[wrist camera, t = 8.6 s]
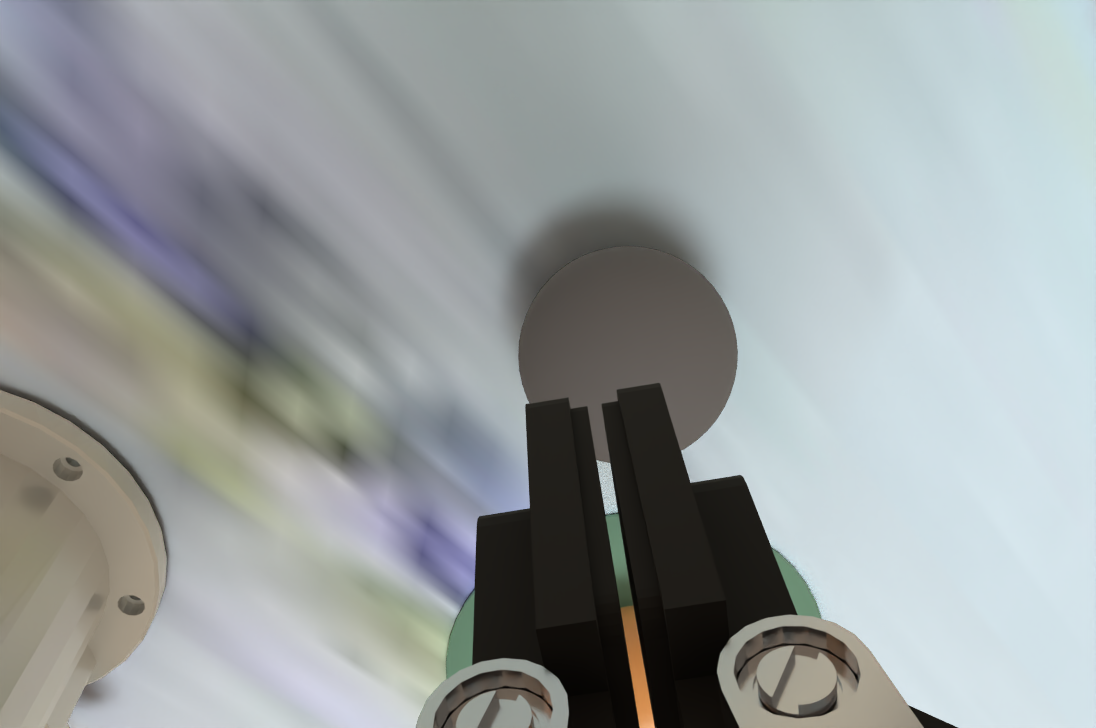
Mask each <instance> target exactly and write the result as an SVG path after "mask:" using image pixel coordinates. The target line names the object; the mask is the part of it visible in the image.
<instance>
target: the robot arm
mask: <svg viewBox="0 0 1096 728" xmlns="http://www.w3.org/2000/svg"><path fill="white" fill-rule="evenodd" d="M616 391H617V400H618V401H615V402H608V403H602V404H601V406H602V412H603V419H604V425H605V432H606V438H607V444H608V451H609V457H610V463H611V470H612V476H613V482H614V489H615V495H616V502H617V508H618V514H619V521H620V527H621V533H622V540H623V546H624V552H625V559H626V565H627V572H628V578H629V584H630V590H631V596H632V602H633V607H634V613H635V619H636V624H637V630H638V635H639V641H640V647H641V652H642V658H643V664H644V669H645V675H646V681H647V686H648V692H649V698H650V703H651V709H652V714H653V720H654V726H655V728H957V727H955V726H953V725H951V724H949V723H946V722H944V721H942V720H940V719H937V718H935V717H933V716H931V715H929V714H926V713H924V712H922V711H920V710H918V709H915V708H913V707H911V706H909V705H908V704H907V703H906V702H905V700H904V699H903V697H902V696H901V694H900V693H899V691H898V690H897V689H896V687H895V686H894V684H893V683H892V681H891V680H890V679H889V677H888V676H887V674H886V673H885V671H884V670H883V668H882V667H881V666H880V664H879V663H878V661H877V660H876V658H875V657H874V656H873V654H872V653H871V651H870V650H869V649H868V648H867V647H866V646H865V645H864V643H863V642H862V641H861V640H860V639H859V638H858V637H857V636H856V635H855V634H853V633H851V632H850V631H848V630H846V629H845V628H843V627H841V626H839V625H838V624H836V623H833V622H830V621H826V620H823V619H820V618H816V617H813V616H801V615H798V614H797V612H796V609H795V607H794V604H793V602H792V599H791V596H790V594H789V591H788V589H787V586H786V584H785V581H784V579H783V576H782V573H781V571H780V568H779V566H778V563H777V561H776V558H775V556H774V553H773V550H772V548H771V545H770V543H769V540H768V538H767V535H766V533H765V530H764V527H763V525H762V522H761V520H760V517H759V515H758V512H757V510H756V507H755V504H754V502H753V499H752V497H751V494H750V492H749V489H748V487H747V484H746V482H745V480H744V478H743V477H742V476H741V475H738V476H732V477H725V478H719V479H713V480H706V481H700V482H694V483H690V480H689V477H688V473H687V470H686V467H685V463H684V460H683V457H682V454H681V450H680V447H679V444H678V440H677V437H676V434H675V430H674V427H673V424H672V421H671V417H670V414H669V411H668V407H667V404H666V401H665V397H664V394H663V391H662V387H661V385H660V383H654V384H648V385H641V386H635V387H629V388H623V389H617V390H616ZM525 409H526V431H527V452H528V474H529V496H530V508H529V509H523V510H517V511H510V512H504V513H498V514H492V515H485V516H479V518H478V521H477V536H476V565H475V595H474V624H473V653H472V666H469V667H467V668H464V669H462V670H460V671H458V672H457V673H455V674H454V675H452V676H451V677H449V678H448V679H446V680H445V681H444V682H442V683H441V684H440V685H439V686H438V687H437V688H436V690H435V691H434V692H433V693H432V694H431V695H430V696H429V698H428V699H427V700H426V702H425V705H424V707H423V709H422V711H421V713H420V715H419V717H418V721H417V725H416V728H640V726H639V720H638V714H637V708H636V701H635V695H634V689H633V683H632V676H631V670H630V664H629V658H628V651H627V645H626V639H625V633H624V626H623V620H622V614H621V608H620V601H619V595H618V589H617V583H616V577H615V571H614V565H613V559H612V553H611V546H610V540H609V534H608V528H607V522H606V516H605V510H604V504H603V498H602V492H601V486H600V480H599V474H598V468H597V462H596V455H595V449H594V443H593V437H592V431H591V425H590V419H589V413H588V407H587V406H584V407H578V408H571V407H570V402H569V397H567V398H561V399H555V400H549V401H543V402H536V403H530V404H526V407H525ZM166 566H167V557H166V552H165V546H164V541H163V536H162V530H161V528H160V526H159V523H158V521H157V519H156V516H155V514H154V512H153V509H152V507H151V505H150V502H149V500H148V499H147V498H146V496H145V495H144V493H143V492H142V490H141V489H140V487H139V486H138V484H137V483H136V481H135V480H134V479H133V477H132V476H131V474H130V473H129V472H128V471H127V470H126V469H125V468H124V467H123V466H122V465H121V463H120V462H119V461H118V460H117V459H116V458H115V457H114V456H113V455H112V454H111V453H110V452H109V451H108V450H107V449H106V448H105V447H104V446H103V445H101V444H100V443H99V442H97V441H96V440H95V439H93V438H92V437H91V436H89V435H88V434H87V433H85V432H84V431H83V430H81V429H80V428H79V427H77V426H76V425H74V424H73V423H72V422H70V421H68V420H67V419H65V418H63V417H61V416H59V415H57V414H55V413H53V412H51V411H50V410H48V409H46V408H44V407H42V406H40V405H38V404H36V403H35V402H32V401H29V400H27V399H24V398H21V397H18V396H16V395H13V394H10V393H7V392H4V391H2V390H0V728H70V727H69V725H68V723H67V722H68V720H69V718H70V716H71V714H72V712H73V710H74V708H75V706H76V704H77V702H78V700H79V698H80V696H81V694H82V692H83V690H84V688H85V686H86V685H88V684H91V683H93V682H95V681H97V680H99V679H101V678H103V677H104V676H106V675H107V674H108V673H110V672H111V671H112V670H114V669H115V668H116V667H118V666H119V665H120V664H122V663H123V662H124V661H126V659H127V658H128V657H129V656H130V655H131V654H132V652H133V651H134V650H135V649H136V648H137V646H138V645H139V644H140V643H141V642H142V640H143V639H144V637H145V635H146V633H147V631H148V629H149V627H150V625H151V623H152V621H153V619H154V617H155V615H156V613H157V610H158V607H159V604H160V601H161V598H162V595H163V592H164V589H165V582H166Z"/></svg>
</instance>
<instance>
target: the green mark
mask: <svg viewBox="0 0 1096 728" xmlns="http://www.w3.org/2000/svg"><path fill="white" fill-rule="evenodd" d="M606 522H607V528H608V534H609V540H610V546H611V553H612V559H613V565H614V571H615V577H616V583H617V589H618V595H619V601H620V608H622V607H626V606H633V602H632V596H631V590H630V584H629V578H628V572H627V565H626V559H625V552H624V546H623V540H622V533H621V527H620V521H619V514H611V515H606ZM772 550H773V553H774V556H775V558H776V561H777V563H778V566H779V568H780V571H781V573H782V576H783V579H784V581H785V584H786V586H787V589H788V591H789V594H790V596H791V599H792V602H793V604H794V607H795V609H796V612H797V614H798V615H801V616H813V617H816V618H820V619H821V616H820V613H819V610H818V607H817V604H816V601H815V599H814V598H813V596H812V594H811V592H810V590H809V588H808V586H807V584H806V583H805V581H804V580H803V579H802V577H801V576H800V575H799V573H798V572H797V571H796V570H795V568H794V567H793V566H792V565H791V564H790V563H789V562H788V561H787V560H786V559H784V558H783V557H782V556H781V555H780V554H779V553H778V552H777V551H775V550H774V549H772ZM474 595H475V589H474V591H473V592H472V593H471V595H470V596H469V597H468V599H467V600H466V602H465V603H464V605H463V607H462V609H461V611H460V613H459V615H458V617H457V618H456V621H455V624H454V627H453V630H452V633H451V636H450V639H449V645H448V651H447V658H446V673H447V679H448V678H449V677H451V676H452V675H454V674H455V673H457V672H458V671H460V670H462V669H464V668H467V667H469V666H472V653H473V624H474Z"/></svg>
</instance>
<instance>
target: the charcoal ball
mask: <svg viewBox="0 0 1096 728" xmlns="http://www.w3.org/2000/svg"><path fill="white" fill-rule="evenodd" d="M737 355H738V350H737V340H736V334H735V330H734V326H733V322H732V320H731V317H730V314H729V311H728V309H727V307H726V306H725V304H724V302H723V300H722V298H721V297H720V295H719V294H718V292H717V291H716V289H715V288H714V287H713V286H712V285H711V283H710V282H709V281H708V280H707V279H706V278H705V277H704V276H703V275H702V274H701V273H699V272H698V271H697V270H696V269H695V268H694V267H692V266H690V265H689V264H687V263H686V262H684V261H683V260H681V259H679V258H677V257H675V256H673V255H670V254H668V253H665V252H662V251H659V250H656V249H651V248H645V247H636V246H622V247H611V248H606V249H601V250H597V251H594V252H591V253H589V254H586V255H584V256H582V257H580V258H577V259H575V260H573V261H572V262H570V263H569V264H567V265H566V266H564V267H563V268H561V269H560V270H559V271H558V272H557V273H556V274H555V275H553V276H552V277H551V278H550V279H549V280H548V282H547V283H546V284H545V285H544V286H543V287H542V288H541V290H540V291H539V293H538V294H537V296H536V297H535V299H534V300H533V302H532V304H531V306H530V308H529V310H528V312H527V314H526V317H525V320H524V323H523V326H522V330H521V335H520V340H519V354H518V358H519V371H520V375H521V380H522V385H523V388H524V390H525V393H526V396H527V399H528V401H529V403H536V402H543V401H549V400H555V399H561V398H567V397H569V402H570V407H571V408H578V407H584V406H587V407H588V413H589V419H590V425H591V431H592V437H593V443H594V449H595V455H596V460H599V461H603V462H608V463H610V457H609V451H608V444H607V438H606V432H605V425H604V419H603V412H602V406H601V404H602V403H608V402H615V401H618V400H617V391H616V390H617V389H623V388H629V387H635V386H641V385H648V384H654V383H660V385H661V387H662V391H663V394H664V397H665V401H666V404H667V407H668V411H669V414H670V417H671V421H672V424H673V427H674V430H675V434H676V437H677V440H678V444H679V447H680V450H683V449H685V448H686V447H688V446H689V445H691V444H692V443H694V442H695V441H696V440H698V439H699V438H700V437H701V436H702V435H703V434H704V433H705V432H706V431H708V429H709V428H710V427H711V426H712V425H713V423H714V422H715V421H716V420H717V418H718V417H719V415H720V413H721V412H722V410H723V409H724V407H725V405H726V403H727V400H728V398H729V396H730V393H731V390H732V387H733V384H734V380H735V375H736V369H737Z"/></svg>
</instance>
